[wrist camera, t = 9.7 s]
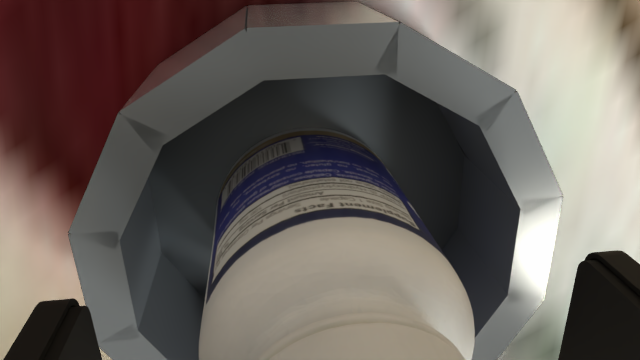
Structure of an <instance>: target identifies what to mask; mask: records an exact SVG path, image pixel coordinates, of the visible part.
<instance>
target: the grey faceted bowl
mask: <svg viewBox="0 0 640 360" xmlns="http://www.w3.org/2000/svg"><path fill="white" fill-rule="evenodd" d="M297 128H324V129H330V130H335V131H338V132H341V133H344V134H346V135H349V136H351V137H353V138H355V139H357V140H359V141H360V142H362V143H363V144H365V145H366V146H367V147H369V148H370V149H371V150H372V151H373V152H374V153H375V154H376V155H377V156H378V157H379V158H380V159H381V161H382V162H383V163H384V165H385V166H386V167H387V168H388V170H389V172H390V173H391V175H392V176H393V178H394V179H395V180H396V182H397V183H398V185H399V187H400V188H401V190H402V191H403V193H404V194H405V196H406V197H407V199H408V200H409V202H410V203H411V205H412V206H413V208H414V209H415V211H416V212H417V214H418V215H419V217H420V218H421V220H422V221H423V223H424V224H425V226H426V227H427V229H428V230H429V232H430V234H431V235H432V237H433V238H434V240H435V241H436V243H437V244H438V246H439V247H440V249H441V250H442V252H443V253H444V255H445V256H446V257H447V259H448V260H449V262H450V263H451V265H452V267H453V268H454V270H455V272H456V273H457V275H458V277H459V279H460V281H461V283H462V284H463V286H464V288H465V290H466V293H467V295H468V298H469V301H470V304H471V307H472V312H473V317H474V329H475V343H474V350H473V355H472V359H471V360H497V359H498V358H499V356H500V355H501V354H502V353H503V351H504V350H505V349H506V348H507V346H508V345H509V344H510V343H511V341H512V340H513V339H514V338H515V336H516V335H517V334H518V333H519V331H520V330H521V329H522V328H523V326H524V325H525V324H526V323H527V321H528V320H529V319H530V318H531V316H532V315H533V314H534V313H535V311H536V310H537V309H538V308H539V306H540V305H541V304H542V303H543V300H544V299H545V293H546V288H547V282H548V277H549V272H550V266H551V261H552V255H553V250H554V244H555V239H556V234H557V228H558V223H559V217H560V212H561V206H562V201H563V196H562V195H563V194H562V191H561V189H560V187H559V184H558V182H557V180H556V178H555V175H554V173H553V171H552V169H551V166H550V164H549V162H548V160H547V157H546V155H545V153H544V151H543V148H542V146H541V144H540V141H539V139H538V137H537V135H536V132H535V130H534V128H533V126H532V123H531V121H530V119H529V117H528V114H527V112H526V110H525V108H524V105H523V103H522V101H521V98H520V96H519V94H518V92H517V91H516V90H515V89H514V88H512V87H510V86H509V85H507V84H505V83H504V82H502V81H500V80H498V79H497V78H495V77H493V76H492V75H490V74H488V73H486V72H485V71H483V70H481V69H480V68H478V67H476V66H475V65H473V64H471V63H469V62H468V61H466V60H464V59H463V58H461V57H459V56H457V55H456V54H454V53H452V52H451V51H449V50H447V49H446V48H444V47H442V46H440V45H439V44H437V43H435V42H434V41H432V40H430V39H428V38H427V37H425V36H423V35H422V34H420V33H418V32H417V31H415V30H413V29H411V28H410V27H408V26H406V25H405V24H403V23H401V22H399V21H397V20H395V19H393V18H391V17H389V16H387V15H384V14H382V13H380V12H378V11H376V10H374V9H372V8H370V7H368V6H365V5H363V4H361V3H359V2H356V1H353V2H325V3H297V4H269V5H248V7H247V6H245V7H244V8H242V9H241V10H239V11H238V12H236V13H235V14H233V15H232V16H230V17H229V18H227V19H226V20H224V21H223V22H221V23H220V24H218V25H217V26H215V27H214V28H212V29H211V30H209V31H208V32H207V33H205V34H204V35H202V36H201V37H199V38H198V39H196V40H195V41H193V42H192V43H190V44H189V45H187V46H186V47H184V48H183V49H181V50H180V51H178V52H177V53H175V54H174V55H172V56H171V57H169V58H168V59H166V60H165V61H163V62H162V63H160V64H159V65H157V67H156V68H155V69H154V70H153V71H152V73H151V74H150V75H149V76H148V77H147V79H146V80H145V81H144V82H143V83H142V85H141V86H140V87H139V88H138V90H137V91H136V92H135V93H134V94H133V96H132V97H131V98H130V99H129V100H128V102H127V103H126V104H125V105H124V106H123V108H122V109H121V110H120V111H119V113H118V114H117V117H116V119H115V122H114V124H113V126H112V129H111V131H110V134H109V136H108V138H107V141H106V143H105V146H104V148H103V150H102V153H101V155H100V158H99V160H98V162H97V165H96V167H95V170H94V172H93V174H92V177H91V179H90V182H89V184H88V186H87V189H86V191H85V194H84V196H83V198H82V201H81V203H80V206H79V208H78V210H77V213H76V215H75V218H74V220H73V222H72V225H71V227H70V230H69V232H68V233H69V234H68V236H69V240H70V244H71V248H72V252H73V256H74V260H75V264H76V268H77V272H78V276H79V280H80V284H81V288H82V292H83V296H84V300H85V304H86V306H87V307H88V308H89V310H90V313H91V317H92V321H93V325H94V329H95V333H96V337H97V341H98V345H99V348H100V349H101V350H103V351H104V352H105V353H106V354H107V355H108V356H109V357H110V358H111V359H112V360H199V337H200V329H201V322H202V315H203V308H204V302H205V295H206V288H207V281H208V274H209V267H210V260H211V252H212V244H213V236H214V225H215V215H216V206H217V200H218V196H219V193H220V190H221V187H222V185H223V182H224V180H225V178H226V176H227V174H228V173H229V171H230V169H231V168H232V166H233V165H234V164H235V163H236V161H237V160H238V159H239V158H240V157H241V156H242V155H243V154H244V153H245V152H246V151H248V150H249V149H250V148H251V147H253V146H254V145H256V144H257V143H259V142H260V141H262V140H264V139H266V138H268V137H270V136H272V135H275V134H277V133H280V132H283V131H287V130H291V129H297Z"/></svg>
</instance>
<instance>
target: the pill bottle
mask: <svg viewBox="0 0 640 360" xmlns="http://www.w3.org/2000/svg"><path fill="white" fill-rule="evenodd" d="M474 343H475V329H474V317H473V312H472V307H471V304H470V301H469V298H468V295H467V293H466V290H465V288H464V286H463V284H462V283H461V281H460V279H459V277H458V275H457V273H456V272H455V270H454V268H453V267H452V265H451V263H450V262H449V260H448V259H447V257H446V256H445V255H444V253H443V252H442V250H441V249H440V247H439V246H438V244H437V243H436V241H435V240H434V238H433V237H432V235H431V234H430V232H429V230H428V229H427V227H426V226H425V224H424V223H423V221H422V220H421V218H420V217H419V215H418V214H417V212H416V211H415V209H414V208H413V206H412V205H411V203H410V202H409V200H408V199H407V197H406V196H405V194H404V193H403V191H402V190H401V188H400V187H399V185H398V183H397V182H396V180H395V179H394V178H393V176H392V175H391V173H390V172H389V170H388V168H387V167H386V166H385V165H384V163H383V162H382V161H381V159H380V158H379V157H378V156H377V155H376V154H375V153H374V152H373V151H372V150H371V149H370V148H369V147H367V146H366V145H365V144H363V143H362V142H360V141H359V140H357V139H355V138H353V137H351V136H349V135H346V134H344V133H341V132H338V131H335V130H330V129H324V128H297V129H291V130H287V131H283V132H280V133H277V134H275V135H272V136H270V137H268V138H266V139H264V140H262V141H260V142H259V143H257V144H256V145H254V146H253V147H251V148H250V149H249V150H248V151H246V152H245V153H244V154H243V155H242V156H241V157H240V158H239V159H238V160H237V161H236V163H235V164H234V165H233V166H232V168H231V169H230V171H229V173H228V174H227V176H226V178H225V180H224V182H223V185H222V187H221V190H220V193H219V196H218V200H217V206H216V215H215V225H214V236H213V244H212V252H211V260H210V267H209V274H208V281H207V288H206V295H205V302H204V308H203V315H202V322H201V329H200V337H199V360H471V359H472V355H473V350H474Z"/></svg>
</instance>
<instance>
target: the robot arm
mask: <svg viewBox="0 0 640 360" xmlns="http://www.w3.org/2000/svg"><path fill="white" fill-rule="evenodd" d="M4 360H102V357H101V353H100V349H99V345H98V341H97V337H96V333H95V329H94V325H93V321H92V317H91V313H90V310H89V308H88V307H87V306H79V303H78V302H77V300H75V299H64V300H53V301H42V302H40V303H38V304H37V306H36V307H35V309H34V310H33V312H32V314H31V315H30V317H29V319H28V320H27V322H26V323H25V325H24V327H23V328H22V330H21V332H20V333H19V335H18V337H17V338H16V340H15V342H14V343H13V345H12V346H11V348H10V350H9V351H8V353H7V355H6V356H5V358H4ZM558 360H640V264H639V263H637V262H636V261H635V260H634V259H632V258H631V257H630V256H629V255H627V254H626V253H624V252H623V251H606V252H595V253H590V254H588V256H587V257H586V258H585V261H582V262H581V263H580V264H579V266H578V269H577V273H576V278H575V283H574V288H573V292H572V297H571V302H570V307H569V312H568V316H567V321H566V326H565V331H564V336H563V340H562V345H561V350H560V355H559V359H558Z"/></svg>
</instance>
